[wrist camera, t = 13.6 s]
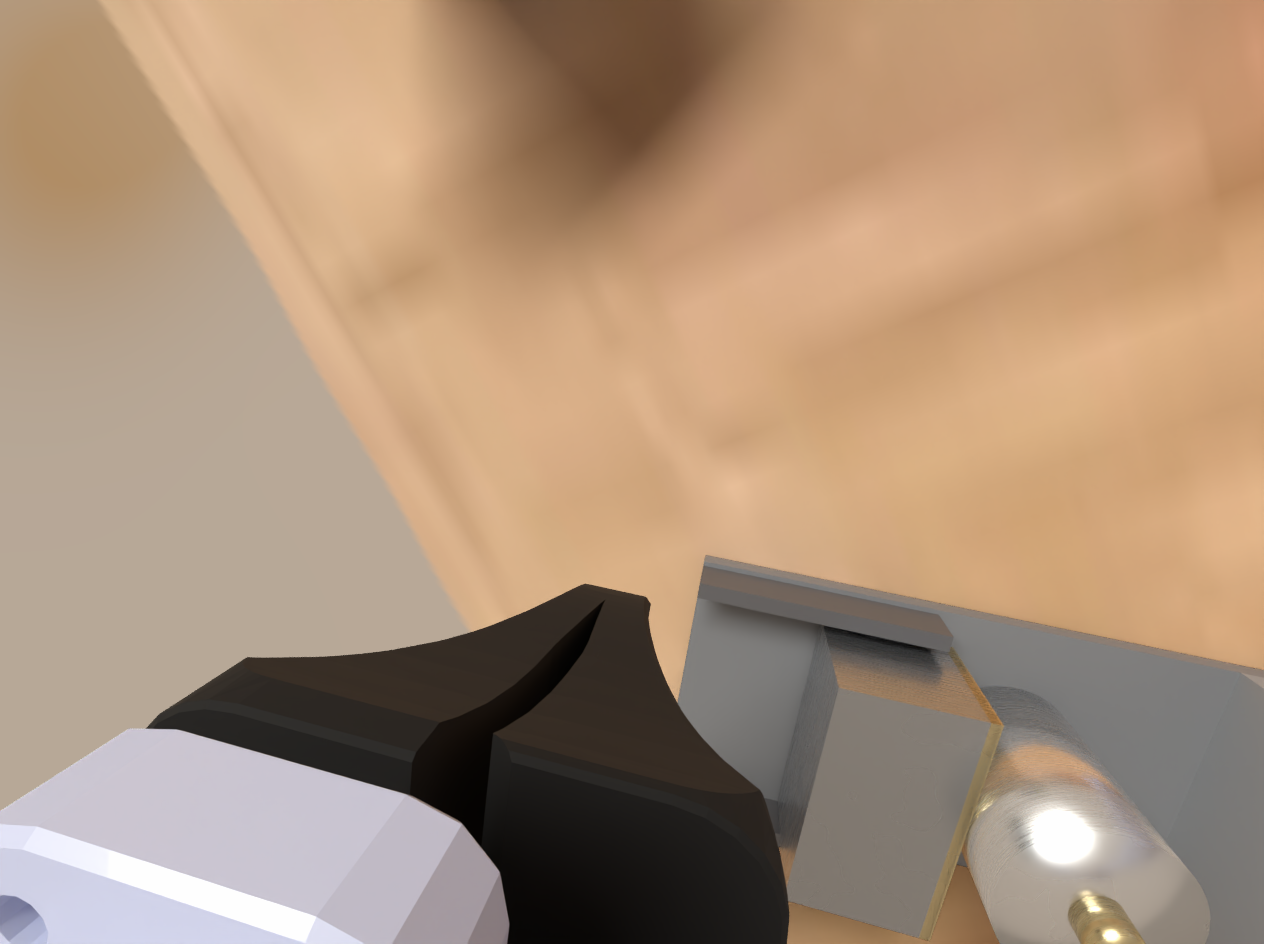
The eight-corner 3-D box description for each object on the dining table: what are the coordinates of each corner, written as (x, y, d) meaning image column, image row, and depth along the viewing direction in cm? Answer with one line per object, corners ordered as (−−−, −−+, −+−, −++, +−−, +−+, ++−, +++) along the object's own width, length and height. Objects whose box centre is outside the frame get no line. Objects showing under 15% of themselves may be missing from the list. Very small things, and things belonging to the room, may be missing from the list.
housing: (1062, 676, 19) (1231, 862, 12) (1084, 800, 20) (1256, 1040, 13) (910, 697, 20) (990, 880, 13) (936, 814, 21) (1025, 1043, 14)
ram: (953, 647, 19) (1004, 725, 15) (896, 829, 21) (929, 941, 17) (821, 618, 20) (839, 687, 16) (777, 798, 22) (783, 899, 18)
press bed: (1281, 674, 18) (1500, 814, 13) (1173, 908, 21) (1321, 1110, 15) (705, 555, 21) (690, 631, 16) (664, 775, 23) (638, 908, 18)
